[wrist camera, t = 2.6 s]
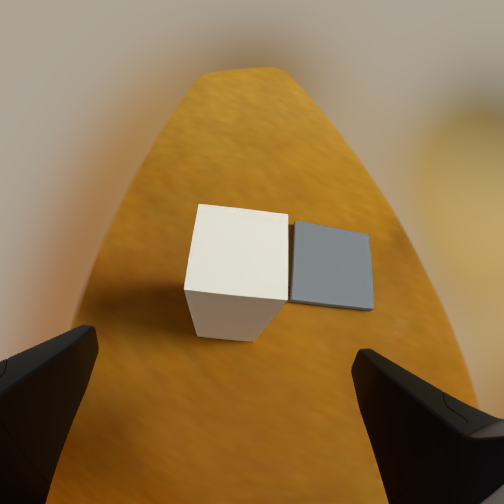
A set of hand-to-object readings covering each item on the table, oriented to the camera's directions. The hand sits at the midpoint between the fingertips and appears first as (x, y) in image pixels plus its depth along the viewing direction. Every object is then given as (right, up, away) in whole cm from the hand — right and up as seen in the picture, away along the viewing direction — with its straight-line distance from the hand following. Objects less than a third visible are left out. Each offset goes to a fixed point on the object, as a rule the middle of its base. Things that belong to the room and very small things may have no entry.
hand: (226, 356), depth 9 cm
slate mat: (+8, +2, +15) cm, 17 cm away
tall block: (-1, -1, +12) cm, 12 cm away
